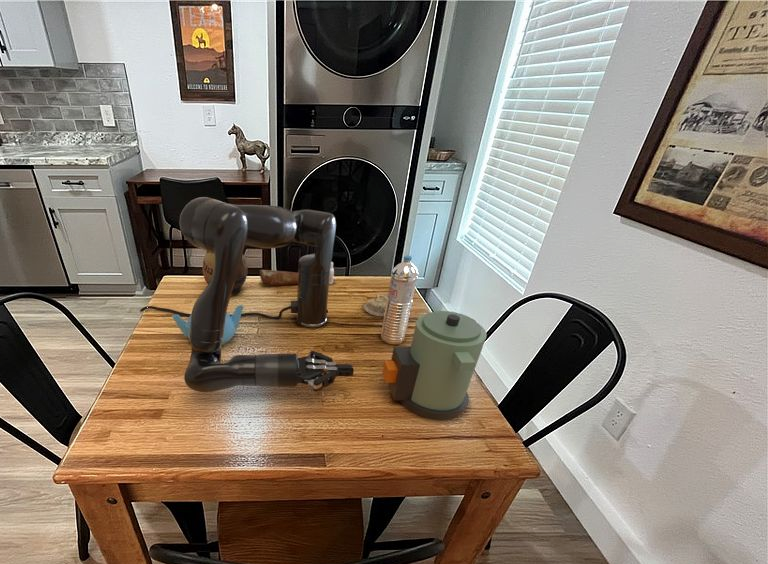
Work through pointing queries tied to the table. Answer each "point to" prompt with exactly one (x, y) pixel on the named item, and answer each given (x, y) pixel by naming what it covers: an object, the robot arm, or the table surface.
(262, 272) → the bread
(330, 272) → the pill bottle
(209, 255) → the ceramic jug
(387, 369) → the switch
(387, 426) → the table surface
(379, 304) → the cake
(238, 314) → the teapot
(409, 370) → the kettle
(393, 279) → the water bottle
